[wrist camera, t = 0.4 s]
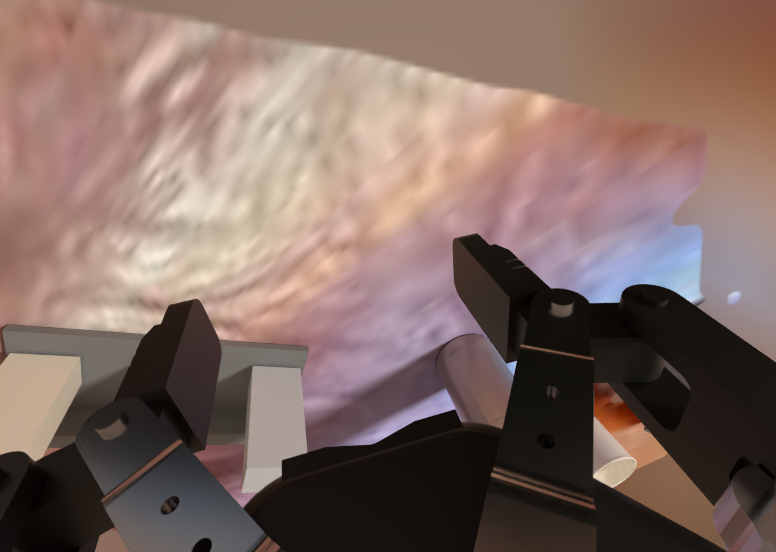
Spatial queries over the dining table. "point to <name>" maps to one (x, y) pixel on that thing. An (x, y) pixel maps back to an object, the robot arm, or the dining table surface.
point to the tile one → (35, 399)
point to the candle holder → (610, 458)
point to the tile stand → (113, 357)
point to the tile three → (272, 424)
